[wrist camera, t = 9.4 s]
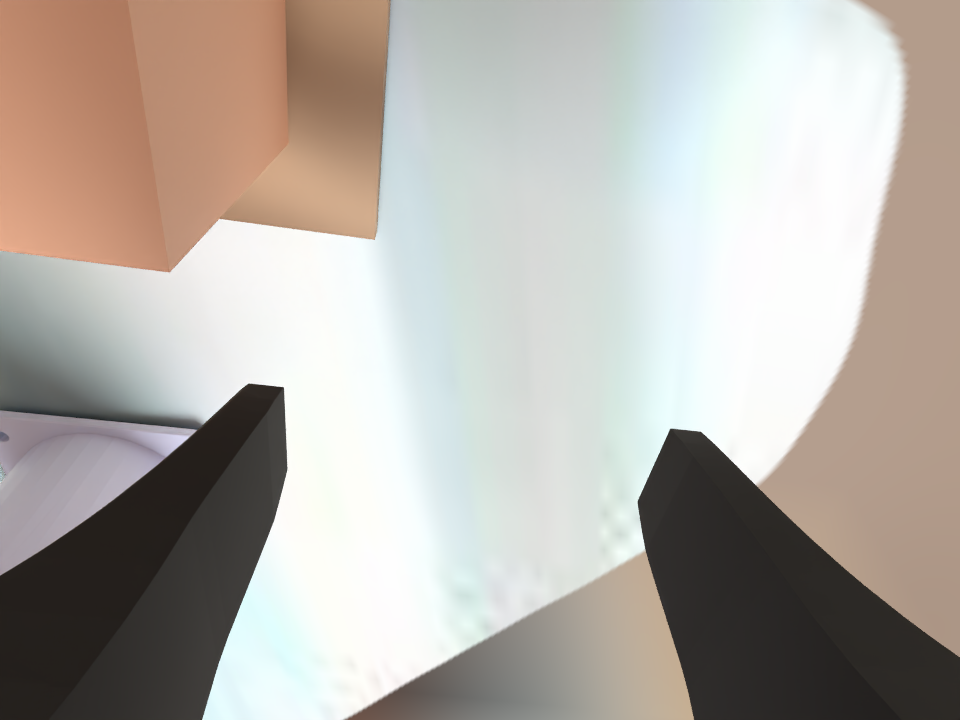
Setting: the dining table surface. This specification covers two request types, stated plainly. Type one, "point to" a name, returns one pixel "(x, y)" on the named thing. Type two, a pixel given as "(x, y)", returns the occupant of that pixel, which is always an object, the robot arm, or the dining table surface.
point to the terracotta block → (134, 122)
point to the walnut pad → (327, 123)
